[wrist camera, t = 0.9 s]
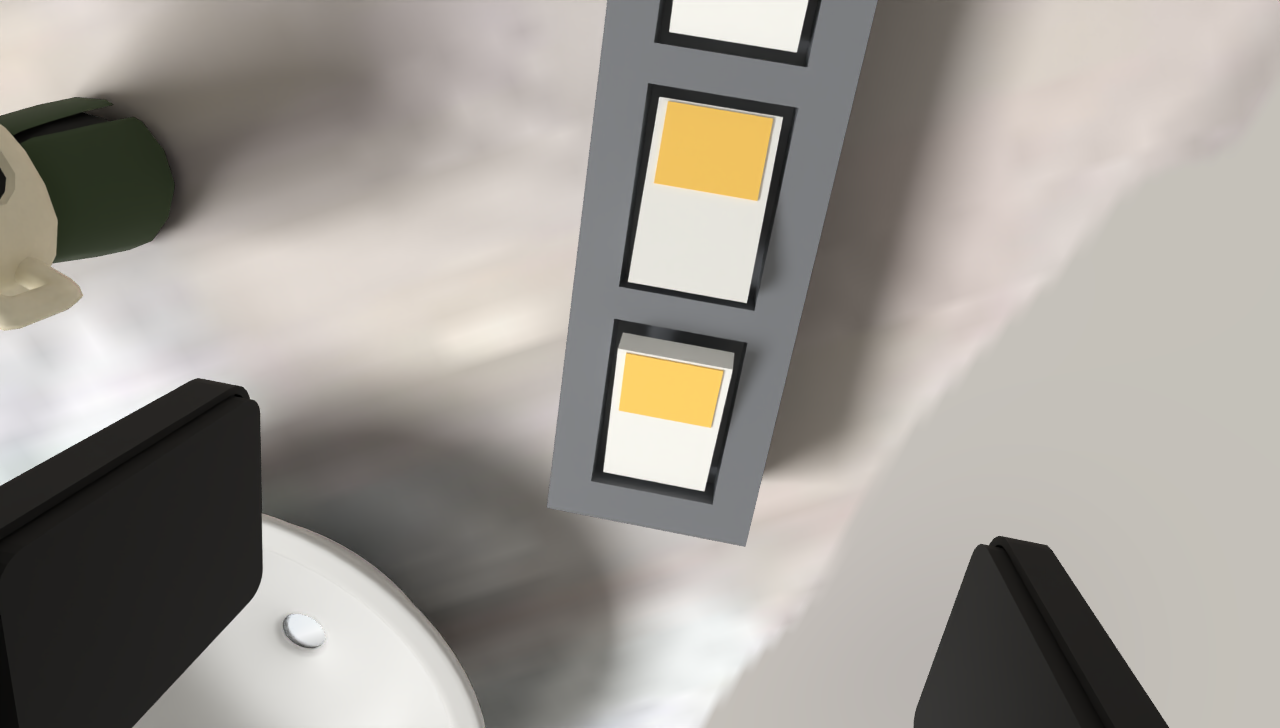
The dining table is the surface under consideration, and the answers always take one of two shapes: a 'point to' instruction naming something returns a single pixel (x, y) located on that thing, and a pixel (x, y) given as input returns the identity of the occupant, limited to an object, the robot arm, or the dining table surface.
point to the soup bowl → (321, 652)
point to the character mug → (71, 200)
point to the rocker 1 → (666, 410)
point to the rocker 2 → (742, 21)
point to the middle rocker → (704, 199)
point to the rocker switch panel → (754, 331)
